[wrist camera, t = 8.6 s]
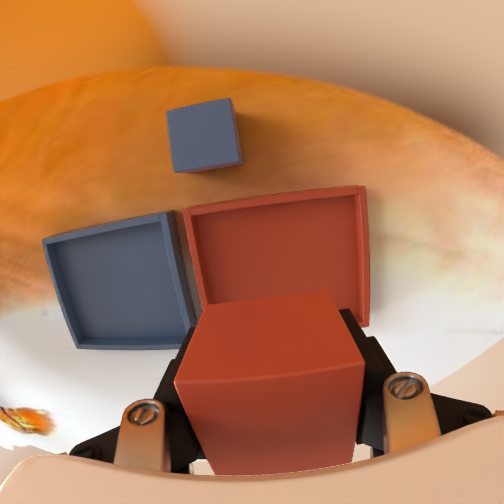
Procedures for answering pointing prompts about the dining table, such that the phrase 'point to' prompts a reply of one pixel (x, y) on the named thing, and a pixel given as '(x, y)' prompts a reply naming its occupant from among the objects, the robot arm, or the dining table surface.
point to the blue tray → (123, 284)
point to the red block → (273, 385)
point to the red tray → (283, 247)
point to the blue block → (204, 137)
